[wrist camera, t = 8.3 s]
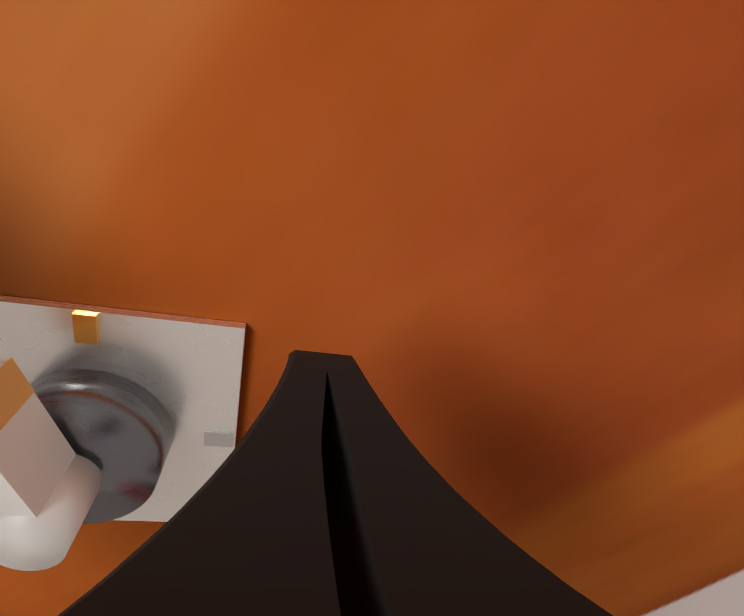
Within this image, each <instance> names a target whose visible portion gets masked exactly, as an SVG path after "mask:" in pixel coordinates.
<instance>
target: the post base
mask: <svg viewBox="0 0 744 616" xmlns="http://www.w3.org/2000/svg"><path fill="white" fill-rule="evenodd" d="M245 333H246V323H240V322H232V321H223V320H214V319H205V318H196V317H188V316H179V315H170V314H161V313H152V312H144V311H135V310H126V309H117V308H108V307H100V306H91V305H82V304H73V303H64V302H55V301H47V300H38V299H29V298H20V297H11V296H3V295H0V360H1V359H6V358H10V357H12V358H13V360H14V361H15V363H16V364H17V366H18V367H19V369H20V370H21V372H22V373H23V374H24V376H25V377H26V379H27V380H28V382H29V383H30V385H31V386H32V388H33V389H34V391H35V394H36V395H37V397H38V398H39V400H40V401H41V403H42V404H43V406H44V407H45V409H46V410H47V412H48V413H49V415H50V416H51V418H52V419H53V421H54V422H55V424H56V425H57V427H58V428H59V430H60V431H61V433H62V434H63V436H64V437H65V439H66V440H67V441H68V443H69V444H70V446H71V447H72V449H73V450H74V452H75V453H76V454H77V455H80V456H82V457H85V458H87V459H89V460H90V461H92V462H93V463H94V464H95V465H96V466H97V467H98V468H99V469H100V471H101V473H102V475H103V484H102V486H101V488H100V490H99V492H98V494H97V496H96V498H95V500H94V502H93V504H92V506H91V508H90V510H89V511H88V513H87V515H86V517H85V519H84V521H83V523H82V524H86V523H99V522H105V521H110V520H124V521H160V522H168V521H169V520H170V519H171V518H172V517H173V516H174V515H175V514H176V513H177V512H178V511H179V510H180V509H181V508H182V507H183V506H184V505H185V504H186V503H187V502H188V501H189V499H190V498H191V497H192V496H193V495H194V494H195V493H196V492H197V491H198V490H199V489H200V488H201V487H202V486H203V485H204V484H205V483H206V482H207V481H208V479H209V478H210V477H211V476H212V475H213V474H214V473H215V472H216V470H217V469H218V468H219V467H220V466H221V465H222V463H223V462H224V461H225V460H226V459H227V457H228V456H229V455H230V454H231V453H232V451H233V450H234V449H235V448H236V436H237V425H238V413H239V402H240V390H241V379H242V367H243V356H244V345H245Z"/></svg>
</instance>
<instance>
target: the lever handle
mask: <svg viewBox="0 0 744 616" xmlns="http://www.w3.org/2000/svg"><path fill="white" fill-rule="evenodd" d="M102 484H103V475H102V473H101V471H100V469H99V468H98V467H97V466H96V465H95V464H94V463H93V462H92V461H90V460H89V459H87V458H85V457H82V456H80V455H77V454H76V453H75V452H74V450H73V449H72V447H71V446H70V444H69V443H68V441H67V440H66V439H65V437H64V436H63V434H62V433H61V431H60V430H59V428H58V427H57V425H56V424H55V422H54V421H53V419H52V418H51V416H50V415H49V413H48V412H47V410H46V409H45V407H44V406H43V404H42V403H41V401H40V400H39V398H38V397H37V395H36V394H35V391H34V389H33V388H32V386H31V385H30V383H29V382H28V380H27V379H26V377H25V376H24V374H23V373H22V372H21V370H20V369H19V367H18V366H17V364H16V363H15V361H14V360H13V358H12V357H10V358H6V359H1V360H0V565H2V566H4V567H7V568H11V569H15V570H22V571H38V570H44V569H48V568H51V567H53V566H55V565H57V564H59V563H60V562H61V561H62V560H63V559H64V558H65V556H66V554H67V552H68V550H69V548H70V546H71V544H72V542H73V541H74V539H75V537H76V535H77V533H78V531H79V529H80V527H81V525H82V523H83V521H84V519H85V517H86V515H87V513H88V511H89V510H90V508H91V506H92V504H93V502H94V500H95V498H96V496H97V494H98V492H99V490H100V488H101V486H102Z"/></svg>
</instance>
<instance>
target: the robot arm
mask: <svg viewBox="0 0 744 616" xmlns="http://www.w3.org/2000/svg"><path fill="white" fill-rule="evenodd" d="M58 616H613V615H611V614H610V613H608V612H607V611H605V610H604V609H602V608H601V607H599V606H598V605H596V604H595V603H593V602H592V601H591V600H589V599H588V598H586V597H585V596H583V595H582V594H580V593H579V592H577V591H576V590H574V589H573V588H572V587H570V586H569V585H567V584H566V583H565V582H563V581H562V580H561V579H559V578H558V577H557V576H556V575H554V574H553V573H552V572H550V571H549V570H548V569H546V568H545V567H544V566H542V565H541V564H540V563H539V562H537V561H536V560H535V559H533V558H532V557H531V556H529V555H528V554H527V553H526V552H524V551H523V550H522V549H521V548H519V547H518V546H517V545H516V544H515V543H513V542H512V541H511V540H510V539H508V538H507V537H506V536H505V535H504V534H502V533H501V532H500V531H499V530H498V529H497V528H496V527H494V526H493V525H492V524H491V523H490V522H489V521H488V520H487V519H485V518H484V517H483V516H482V515H481V514H480V513H479V512H477V511H476V510H475V509H474V508H473V507H472V506H471V505H470V504H469V503H468V502H467V501H466V500H464V499H463V498H462V497H461V496H460V495H459V494H458V493H457V492H456V491H455V490H454V489H453V488H452V487H451V486H450V485H449V484H448V483H447V482H446V481H445V480H444V478H443V477H442V476H441V475H440V474H439V473H438V472H437V471H436V470H435V469H434V468H433V467H432V466H431V465H430V464H429V463H428V462H427V460H426V459H425V458H424V457H423V456H422V455H421V454H420V452H419V451H418V450H417V449H416V448H415V446H414V445H413V444H412V443H411V441H410V440H409V439H408V438H407V437H406V435H405V434H404V433H403V431H402V430H401V429H400V427H399V426H398V425H397V423H396V422H395V421H394V419H393V418H392V416H391V415H390V414H389V412H388V411H387V409H386V408H385V407H384V405H383V404H382V402H381V401H380V399H379V398H378V396H377V395H376V393H375V392H374V390H373V389H372V387H371V386H370V384H369V383H368V381H367V379H366V378H365V376H364V375H363V373H362V371H361V370H360V368H359V366H358V365H357V363H356V361H355V360H354V359H353V357H352V356H348V355H338V354H329V353H319V352H309V351H300V350H294V351H293V352H291V353H290V354H289V358H288V362H287V365H286V368H285V370H284V372H283V375H282V377H281V379H280V381H279V383H278V385H277V387H276V388H275V390H274V392H273V393H272V395H271V397H270V399H269V400H268V402H267V404H266V405H265V407H264V409H263V410H262V412H261V413H260V415H259V416H258V417H257V419H256V420H255V422H254V423H253V424H252V426H251V427H250V429H249V430H248V432H247V433H246V434H245V436H244V437H243V439H242V440H241V441H240V442H239V444H238V445H237V446H236V448H235V449H234V450H233V451H232V453H231V454H230V455H229V456H228V457H227V459H226V460H225V461H224V462H223V463H222V465H221V466H220V467H219V468H218V469H217V470H216V472H215V473H214V474H213V475H212V476H211V477H210V478H209V479H208V481H207V482H206V483H205V484H204V485H203V486H202V487H201V488H200V489H199V490H198V491H197V492H196V493H195V494H194V495H193V496H192V497H191V498H190V499H189V501H188V502H187V503H186V504H185V505H184V506H183V507H182V508H181V509H180V510H179V511H178V512H177V513H176V514H175V515H174V516H173V517H172V518H171V519H170V520H169V521H168V522H167V523H165V524H164V525H163V526H162V527H161V528H160V529H159V530H158V531H157V532H156V533H155V534H153V535H152V536H151V537H150V538H149V539H148V540H147V541H146V542H145V543H143V544H142V545H141V546H140V547H139V548H138V549H137V550H136V551H134V552H133V553H132V554H131V555H130V556H129V557H128V558H127V559H126V560H124V561H123V562H122V563H121V564H120V565H119V566H118V567H117V568H116V569H114V570H113V571H112V572H111V573H110V574H109V575H107V576H106V577H105V578H104V579H103V580H102V581H100V582H99V583H98V584H97V585H96V586H94V587H93V588H92V589H91V590H89V591H88V592H87V593H86V594H84V595H83V596H82V597H81V598H79V599H78V600H77V601H76V602H74V603H73V604H72V605H70V606H69V607H68V608H67V609H65V610H64V611H63V612H62V613H60V614H59V615H58Z"/></svg>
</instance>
